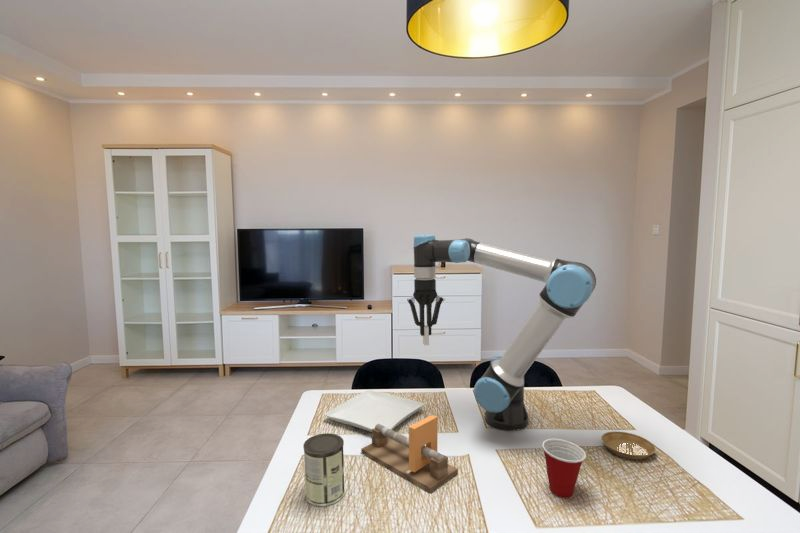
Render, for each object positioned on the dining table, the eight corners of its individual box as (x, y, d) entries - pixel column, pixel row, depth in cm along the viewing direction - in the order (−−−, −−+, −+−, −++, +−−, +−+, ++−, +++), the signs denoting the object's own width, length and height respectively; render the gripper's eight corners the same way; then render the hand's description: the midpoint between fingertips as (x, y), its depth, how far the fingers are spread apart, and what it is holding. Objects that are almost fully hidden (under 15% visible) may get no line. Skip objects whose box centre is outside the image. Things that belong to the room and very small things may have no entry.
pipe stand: (361, 453, 129) (360, 428, 128) (389, 438, 137) (388, 415, 137) (430, 493, 109) (430, 464, 108) (457, 473, 118) (458, 447, 117)
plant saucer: (594, 451, 129) (594, 443, 129) (609, 434, 140) (609, 426, 140) (648, 470, 119) (648, 461, 119) (659, 449, 130) (660, 441, 130)
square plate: (425, 411, 158) (425, 402, 158) (384, 444, 135) (384, 432, 135) (368, 396, 172) (368, 387, 172) (322, 423, 150) (322, 412, 149)
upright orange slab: (409, 469, 116) (408, 426, 115) (432, 455, 123) (432, 414, 122) (414, 472, 114) (414, 429, 113) (437, 457, 121) (437, 416, 120)
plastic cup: (589, 507, 104) (591, 461, 102) (543, 501, 106) (545, 457, 105) (579, 481, 114) (581, 439, 113) (538, 476, 116) (539, 435, 115)
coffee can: (317, 478, 116) (316, 430, 115) (351, 486, 113) (350, 436, 111) (297, 501, 106) (295, 449, 105) (333, 510, 103) (331, 456, 102)
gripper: (440, 276, 151) (440, 340, 153) (404, 278, 148) (406, 342, 151) (445, 279, 143) (446, 345, 145) (408, 280, 141) (410, 348, 143)
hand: (426, 344), depth 148 cm, fingers closed
